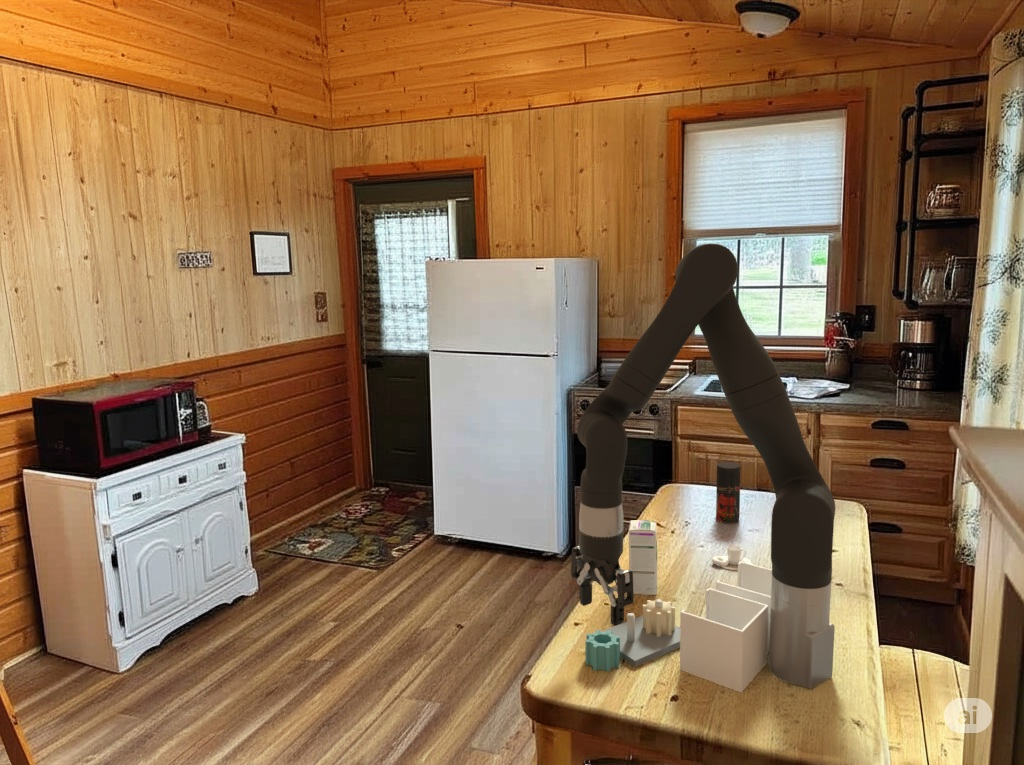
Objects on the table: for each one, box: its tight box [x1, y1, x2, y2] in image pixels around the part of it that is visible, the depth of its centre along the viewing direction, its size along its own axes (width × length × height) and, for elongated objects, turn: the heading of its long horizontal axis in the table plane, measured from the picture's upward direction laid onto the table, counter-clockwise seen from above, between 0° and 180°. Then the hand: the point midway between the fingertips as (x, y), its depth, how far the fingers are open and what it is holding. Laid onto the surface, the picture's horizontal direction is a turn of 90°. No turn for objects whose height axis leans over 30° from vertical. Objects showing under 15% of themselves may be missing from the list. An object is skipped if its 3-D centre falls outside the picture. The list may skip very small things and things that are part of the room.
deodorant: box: [715, 461, 742, 525], centre depth 191 cm, size 6×6×15 cm
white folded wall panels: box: [679, 560, 772, 693], centre depth 130 cm, size 25×11×11 cm, turn 140°
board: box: [601, 598, 680, 668], centre depth 134 cm, size 11×14×7 cm
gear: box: [584, 629, 621, 673], centre depth 128 cm, size 6×6×4 cm
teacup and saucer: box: [711, 544, 753, 571], centre depth 166 cm, size 9×8×4 cm
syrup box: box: [628, 519, 658, 596], centre depth 154 cm, size 6×6×14 cm
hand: (600, 613), depth 127 cm, fingers open, 8 cm apart
